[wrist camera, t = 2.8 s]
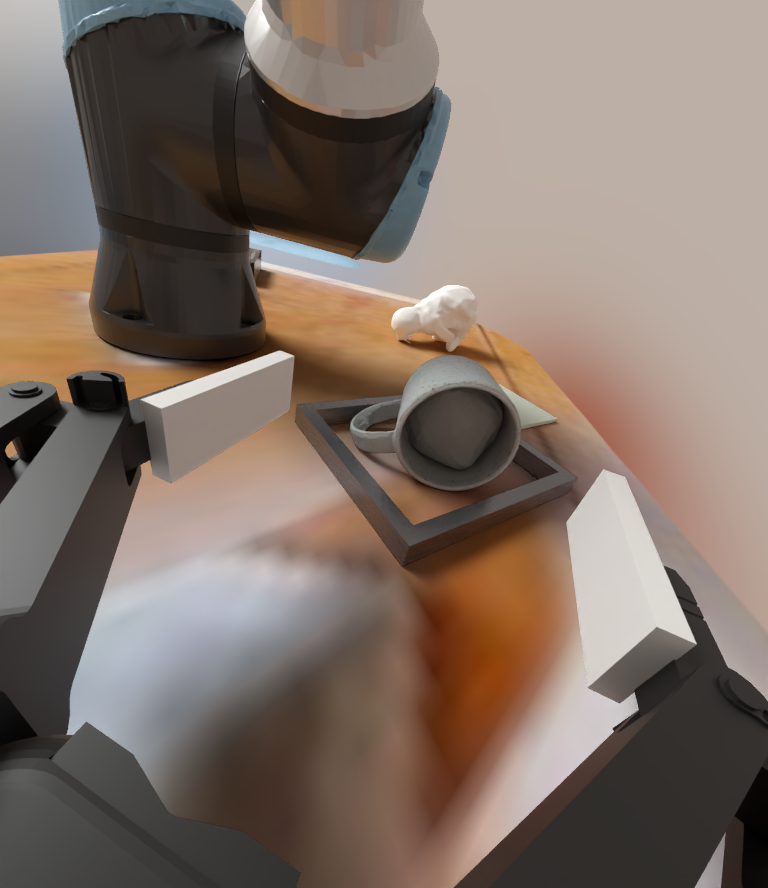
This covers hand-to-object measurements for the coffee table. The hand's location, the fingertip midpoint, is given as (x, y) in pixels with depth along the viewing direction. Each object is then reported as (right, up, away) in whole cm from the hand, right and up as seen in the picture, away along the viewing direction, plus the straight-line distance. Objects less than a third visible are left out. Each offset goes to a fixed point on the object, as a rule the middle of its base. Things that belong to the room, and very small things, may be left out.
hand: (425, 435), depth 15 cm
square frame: (+2, -1, +12) cm, 12 cm away
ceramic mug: (+1, -1, +12) cm, 12 cm away
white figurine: (+4, +14, +38) cm, 41 cm away
